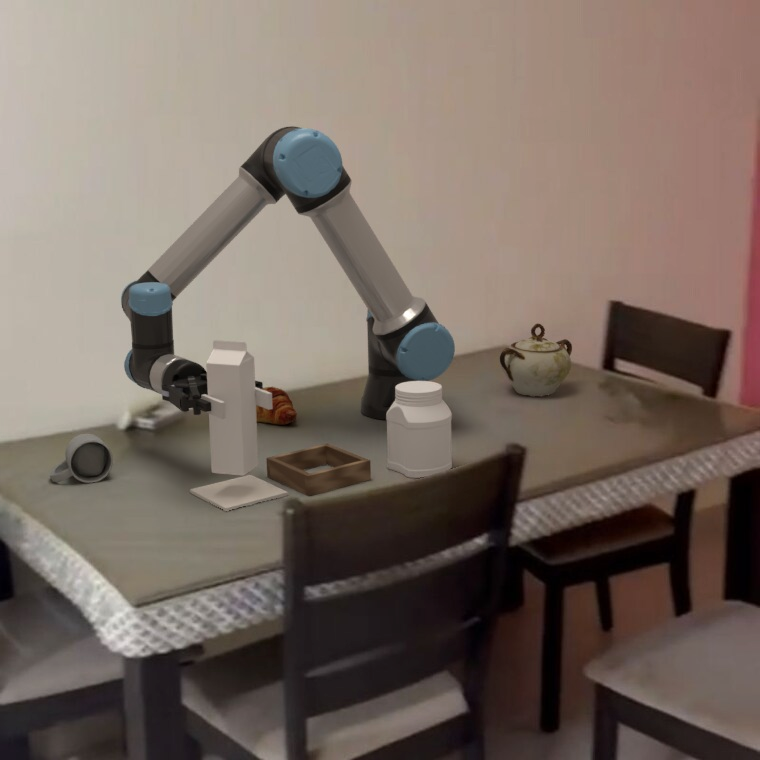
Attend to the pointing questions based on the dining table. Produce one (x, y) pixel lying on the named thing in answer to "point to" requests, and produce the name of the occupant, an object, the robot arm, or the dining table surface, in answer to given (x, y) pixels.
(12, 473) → the dining table surface
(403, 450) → the jar
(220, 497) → the tile
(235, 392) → the milk
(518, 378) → the sugar bowl
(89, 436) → the ceramic mug
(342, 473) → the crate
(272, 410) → the croissant
